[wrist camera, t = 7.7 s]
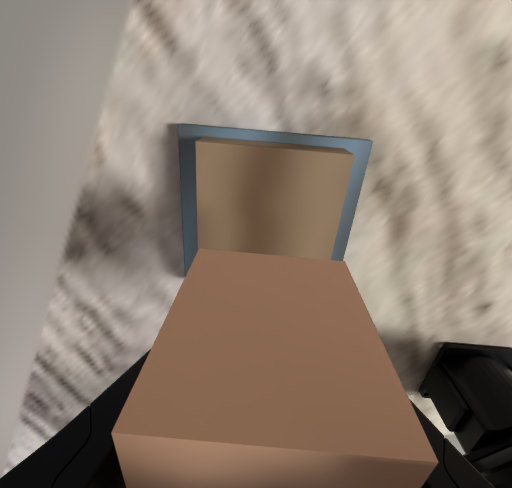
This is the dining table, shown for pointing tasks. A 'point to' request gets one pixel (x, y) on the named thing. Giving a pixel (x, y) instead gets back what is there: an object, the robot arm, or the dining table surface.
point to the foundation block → (268, 191)
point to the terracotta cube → (269, 385)
